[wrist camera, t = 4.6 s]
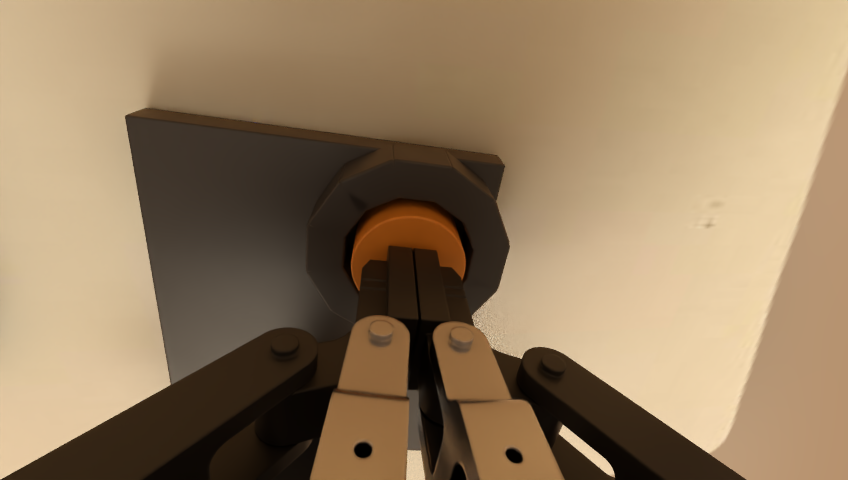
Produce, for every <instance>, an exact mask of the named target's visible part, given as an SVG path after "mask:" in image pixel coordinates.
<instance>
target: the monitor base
mask: <svg viewBox="0 0 848 480" xmlns="http://www.w3.org/2000/svg"><path fill="white" fill-rule="evenodd" d="M125 119H126V125H127V131H128V137H129V142H130V148H131V154H132V160H133V166H134V172H135V177H136V183H137V189H138V195H139V201H140V207H141V212H142V218H143V224H144V230H145V236H146V242H147V248H148V253H149V259H150V265H151V271H152V277H153V283H154V288H155V294H156V300H157V306H158V312H159V318H160V323H161V329H162V335H163V341H164V347H165V353H166V358H167V364H168V370H169V376H170V382H171V385H172V384H174V383H176V382H177V381H179V380H181V379H183V378H185V377H186V376H188V375H190V374H192V373H194V372H195V371H197V370H199V369H201V368H203V367H204V366H206V365H208V364H210V363H212V362H213V361H215V360H217V359H219V358H221V357H222V356H224V355H226V354H228V353H230V352H231V351H233V350H235V349H237V348H239V347H240V346H242V345H244V344H246V343H248V342H249V341H251V340H253V339H255V338H257V337H258V336H260V335H262V334H264V333H266V332H268V331H270V330H273V329H277V328H284V327H292V328H298V329H302V330H305V331H307V332H309V333H310V334H311V335H313V336H314V338H315V339H316V341H317V343H319V342H325V341H330V340H335V339H338V338H340V337H342V336H344V335H346V334H347V333H348V332H350V331H351V330H352V327H353V326H354V324H355V322H356V315H357V307H358V298H359V290H358V288H357V287H356V285H355V283H354V280H353V277H352V272H351V259H352V253H353V247H354V241H355V235H356V229H357V225H358V222H359V220H360V218H361V217H362V216H363V214H364V213H365V212H366V211H367V210H370V209H372V208H375V207H377V206H380V205H382V204H385V203H388V202H390V201H393V200H395V199H398V198H403V199H412V200H420V201H429V202H435V203H436V204H438V205H439V206H441V207H442V208H443V209H445V210H446V211H447V212H449V213H450V214H451V215H452V217H453V219H454V221H455V224H456V227H457V231H458V234H459V237H460V240H461V243H462V247H463V250H464V253H465V259H466V267H465V273H464V277H463V279H462V283H463V287H464V291H465V294H466V298H467V302H468V305H469V309H470V313H471V316H472V315H473V314H474V313H475V312H476V311H477V310H478V309H479V308H480V307H481V306H482V305H483V304H484V303H485V302H486V301H487V300H488V299H489V298H490V297H491V296H492V295H493V294H494V293H495V292H496V291H497V289H498V287H499V284H500V280H501V276H502V273H503V269H504V266H505V262H506V259H507V255H508V252H509V248H510V245H509V240H508V237H507V233H506V230H505V227H504V224H503V221H502V218H501V215H500V212H499V209H498V206H497V203H496V200H497V196H498V192H499V188H500V184H501V180H502V176H503V172H504V168H505V165H504V164H503V162H502V161H501V160H500V158H499V157H498V156H497V155H490V154H483V153H475V152H468V151H460V150H453V149H445V148H438V147H431V146H423V145H416V144H408V143H401V142H393V141H386V140H378V139H371V138H364V137H356V136H349V135H341V134H334V133H326V132H319V131H311V130H304V129H297V128H289V127H282V126H274V125H267V124H259V123H252V122H244V121H237V120H230V119H222V118H215V117H207V116H200V115H192V114H185V113H177V112H170V111H163V110H155V109H148V108H145V109H142V110H139V111H136V112H133V113H131V114H128V115H126V116H125ZM407 397H409V425H408V448H407V450H421V447H420V441H419V434H418V427H417V421H416V412H417V407H418V402H419V392H418V391H417V390H408V381H407Z"/></svg>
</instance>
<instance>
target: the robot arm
mask: <svg viewBox="0 0 848 480" xmlns="http://www.w3.org/2000/svg"><path fill="white" fill-rule="evenodd" d="M407 381H408V390H417V391H418V392H419V402H418V407H417V412H416V421H417V427H418V434H419V441H420V447H421V454H422V461H423V467H424V474H425V480H746V479H745V478H743V477H742V476H740V475H739V474H737V473H736V472H734V471H733V470H732V469H730V468H729V467H727V466H726V465H724V464H723V463H721V462H720V461H718V460H717V459H715V458H714V457H712V456H711V455H710V454H708V453H707V452H705V451H704V450H702V449H701V448H700V447H698V446H697V445H695V444H694V443H692V442H691V441H689V440H688V439H686V438H685V437H684V436H682V435H681V434H679V433H678V432H676V431H675V430H673V429H672V428H670V427H669V426H668V425H666V424H665V423H663V422H662V421H660V420H659V419H657V418H656V417H655V416H653V415H652V414H650V413H649V412H647V411H646V410H644V409H643V408H641V407H640V406H639V405H637V404H636V403H634V402H633V401H631V400H630V399H628V398H627V397H625V396H624V395H623V394H621V393H620V392H618V391H617V390H615V389H614V388H612V387H611V386H609V385H608V384H607V383H605V382H604V381H602V380H601V379H599V378H598V377H596V376H595V375H593V374H592V373H591V372H589V371H588V370H586V369H585V368H583V367H582V366H580V365H579V364H577V363H576V362H575V361H573V360H572V359H570V358H569V357H567V356H566V355H564V354H562V353H560V352H558V351H556V350H553V349H550V348H545V347H535V348H531V349H529V350H527V351H526V352H525V353H524V355H523V358H522V359H520V358H517V357H513V356H510V355H507V354H504V353H501V352H498V351H496V350H494V349H492V348H491V346H490V344H489V342H488V339H487V337H486V336H485V335H484V333H482V332H481V331H480V330H479V329H478V328H476V327H474V323H473V320H472V316H471V313H470V309H469V305H468V302H467V298H466V294H465V291H464V287H463V283H462V280H461V277H460V276H459V275H458V274H457V272H456V271H455V270H454V269H453V268H452V267H442V266H440V264H439V259H438V254H437V250H428V249H419V248H413V250H412V248H409V247H399V246H388V252H387V259H386V261H381V260H371V259H370V260H369V261H368V262H367V263H366V264H365V265H364V266H363V267H362V273H361V282H360V290H359V298H358V307H357V315H356V322H355V324H354V326H353V327H352V330H351V331H350V332H348V333H347V334H346V335H344V336H342V337H340V338H338V339H335V340H330V341H325V342H319V343H317V341H316V339H315V338H314V336H313V335H311V334H310V333H309V332H307V331H305V330H302V329H298V328H292V327H284V328H277V329H273V330H270V331H268V332H266V333H264V334H262V335H260V336H258V337H257V338H255V339H253V340H251V341H249V342H248V343H246V344H244V345H242V346H240V347H239V348H237V349H235V350H233V351H231V352H230V353H228V354H226V355H224V356H222V357H221V358H219V359H217V360H215V361H213V362H212V363H210V364H208V365H206V366H204V367H203V368H201V369H199V370H197V371H195V372H194V373H192V374H190V375H188V376H186V377H185V378H183V379H181V380H179V381H177V382H176V383H174V384H172V385H170V386H168V387H167V388H165V389H163V390H161V391H159V392H158V393H156V394H154V395H152V396H150V397H149V398H147V399H145V400H143V401H141V402H140V403H138V404H136V405H134V406H132V407H131V408H129V409H127V410H125V411H123V412H122V413H120V414H118V415H116V416H114V417H113V418H111V419H109V420H107V421H105V422H104V423H102V424H100V425H98V426H96V427H95V428H93V429H91V430H89V431H87V432H86V433H84V434H82V435H80V436H78V437H77V438H75V439H73V440H71V441H69V442H68V443H66V444H64V445H62V446H60V447H59V448H57V449H55V450H53V451H51V452H50V453H48V454H46V455H44V456H42V457H41V458H39V459H37V460H35V461H33V462H32V463H30V464H28V465H26V466H24V467H23V468H21V469H19V470H17V471H15V472H14V473H12V474H10V475H8V476H6V477H5V478H3V479H1V480H273V479H274V478H275V477H276V476H277V475H279V474H280V473H281V472H282V471H283V470H284V469H285V468H286V467H288V466H289V465H290V464H291V463H292V462H293V461H294V460H295V459H296V458H298V457H299V456H300V455H301V454H302V453H303V452H304V451H305V450H306V449H307V448H308V447H309V445H310V444H311V442H312V439H316V438H320V441H319V445H318V449H317V453H316V457H315V461H314V465H313V468H312V472H311V476H310V480H406V470H407V448H408V425H409V397H407ZM562 425H564V426H566V427H567V428H568V429H569V430H571V431H572V432H573V433H574V434H576V435H577V436H578V437H579V438H581V439H582V440H583V441H584V442H586V443H587V444H588V445H589V446H590V447H592V448H593V449H594V450H595V451H597V452H598V453H599V454H600V455H602V456H603V457H604V458H605V459H606V460H607V461H608V462H609V463H610V465H611V466H612V468H613V470H614V473H615V478H614V477H611V476H609V475H607V474H606V473H605V472H603V471H602V470H601V469H600V468H599V467H597V466H596V465H595V464H594V463H593V462H591V461H590V460H589V459H588V458H587V457H585V456H584V455H583V454H582V453H581V452H579V451H578V450H577V449H576V448H575V447H573V446H572V445H571V444H570V443H569V442H567V441H566V440H565V439H564V438H563V437H561V436H560V435H559V432H560V429H561V427H562Z"/></svg>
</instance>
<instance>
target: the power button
mask: <svg viewBox="0 0 848 480" xmlns="http://www.w3.org/2000/svg"><path fill="white" fill-rule="evenodd" d="M388 246H399V247H409V248H412V250H413V248H419V249H428V250H437V254H438V259H439V264H440V266H442V267H452V268H453V269H454V270H455V271H456V272H457V274H458V275H459V276H460V277H461V280H462V279H463V277H464V273H465V267H466V259H465V253H464V250H463V247H462V243H461V240H460V237H459V234H458V231H457V227H456V224H455V221H454V219H453V217H452V215H451V214H450V213H449V212H447V211H446V210H445V209H443V208H442V207H441V206H439V205H438V204H436V203H435V202H429V201H420V200H412V199H403V198H398V199H395V200H393V201H390V202H388V203H385V204H382V205H380V206H377V207H375V208H372V209H370V210H367V211H366V212H365V213H364V214H363V216H362V217H361V218H360V220H359V222H358V225H357V229H356V235H355V241H354V247H353V253H352V259H351V272H352V277H353V280H354V283H355V285H356V287H357V288H358V290H360V282H361V273H362V267H363V266H364V265H365V264H366V263H367V262H368V261H369V260H370V259H371V260H381V261H386V259H387V252H388Z"/></svg>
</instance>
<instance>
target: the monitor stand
mask: <svg viewBox="0 0 848 480" xmlns="http://www.w3.org/2000/svg"><path fill="white" fill-rule="evenodd" d="M319 441H320V438H316V439H312V442H311V444H310V445H309V447H308V448H307V449H306V450H305V451H304V452H303V453H302V454H301V455H300V456H299V457H298V458H296V459H295V460H294V461H293V462H292V463H291V464H290V465H289V466H288V467H286V468H285V469H284V470H283V471H282V472H281V473H280V474H279V475H277V476H276V477H275V478H274V479H273V480H310V476H311V472H312V468H313V465H314V461H315V457H316V453H317V449H318V445H319Z"/></svg>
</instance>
